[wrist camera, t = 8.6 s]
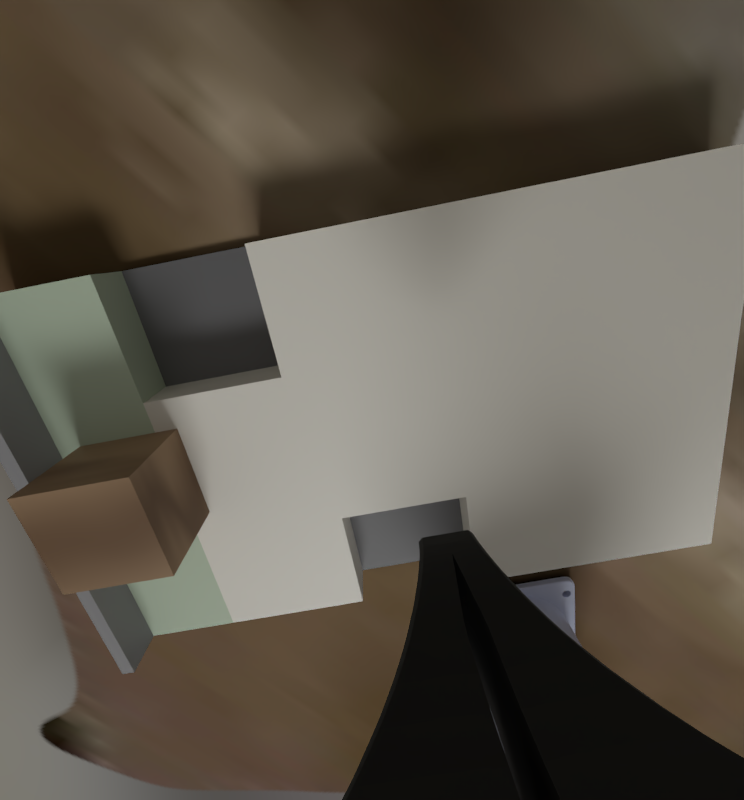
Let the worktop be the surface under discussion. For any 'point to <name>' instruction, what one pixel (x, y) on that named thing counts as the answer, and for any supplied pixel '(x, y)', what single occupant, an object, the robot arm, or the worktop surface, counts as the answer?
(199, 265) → the trap deck
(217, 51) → the worktop surface
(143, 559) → the walnut block
